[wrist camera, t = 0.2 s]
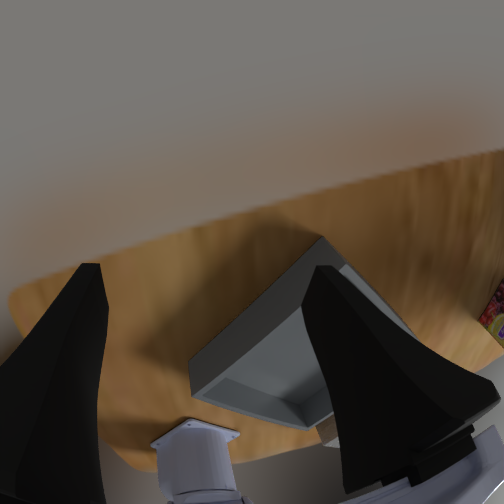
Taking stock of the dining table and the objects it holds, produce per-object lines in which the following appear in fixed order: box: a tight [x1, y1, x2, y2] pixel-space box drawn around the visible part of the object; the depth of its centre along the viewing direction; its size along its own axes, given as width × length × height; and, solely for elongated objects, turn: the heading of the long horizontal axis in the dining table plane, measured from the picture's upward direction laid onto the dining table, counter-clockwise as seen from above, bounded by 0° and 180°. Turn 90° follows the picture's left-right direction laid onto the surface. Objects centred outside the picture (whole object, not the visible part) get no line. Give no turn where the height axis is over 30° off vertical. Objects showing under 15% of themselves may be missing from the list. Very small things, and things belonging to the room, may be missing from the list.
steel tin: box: [316, 414, 340, 448], centre depth 35 cm, size 4×4×5 cm
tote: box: [188, 236, 420, 431], centre depth 27 cm, size 16×16×4 cm
